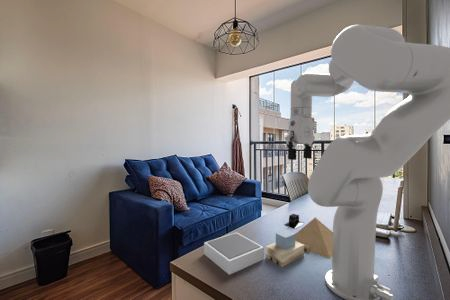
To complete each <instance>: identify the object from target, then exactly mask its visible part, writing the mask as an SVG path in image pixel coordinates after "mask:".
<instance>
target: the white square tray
mask: <svg viewBox="0 0 450 300" xmlns="http://www.w3.org/2000/svg"><path fill="white" fill-rule="evenodd" d="M203 254H204V256H206V257H207V258H208V259H210V260H211V261H212V262H213V263H214V264H215V265H216V266H218V267H219V268H220V269H221V270H223V271H224V272H225V273H226V274H227V275H229V276H230V275H233V274H234V273H237V272H239V271H241V270H244V269H246V268H248V267H250V266H252V265H254V264H256V263H259V262H261V261H263V260H264V257H265V255H264V254H265V247H264V246H262V245H260V244H259V243H257V242H255V241H254V240H251V239H249V238H248V237H246V236H244V235H242V234H240V233H239V232H233V233H229V234H226V235H224V236H221V237H217V238H214V239H211V240H208V241H205V242H203Z"/></svg>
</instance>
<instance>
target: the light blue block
mask: <svg viewBox="0 0 450 300" xmlns="http://www.w3.org/2000/svg"><path fill="white" fill-rule="evenodd" d="M295 234H296V233H294V232H292V231H289V230H287V229H284V230H281V231H279V232H276V233H275V242H276V246H278V247H280V248H282V249H284V250H287V249H289V248H291V247H293V246H295Z"/></svg>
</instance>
